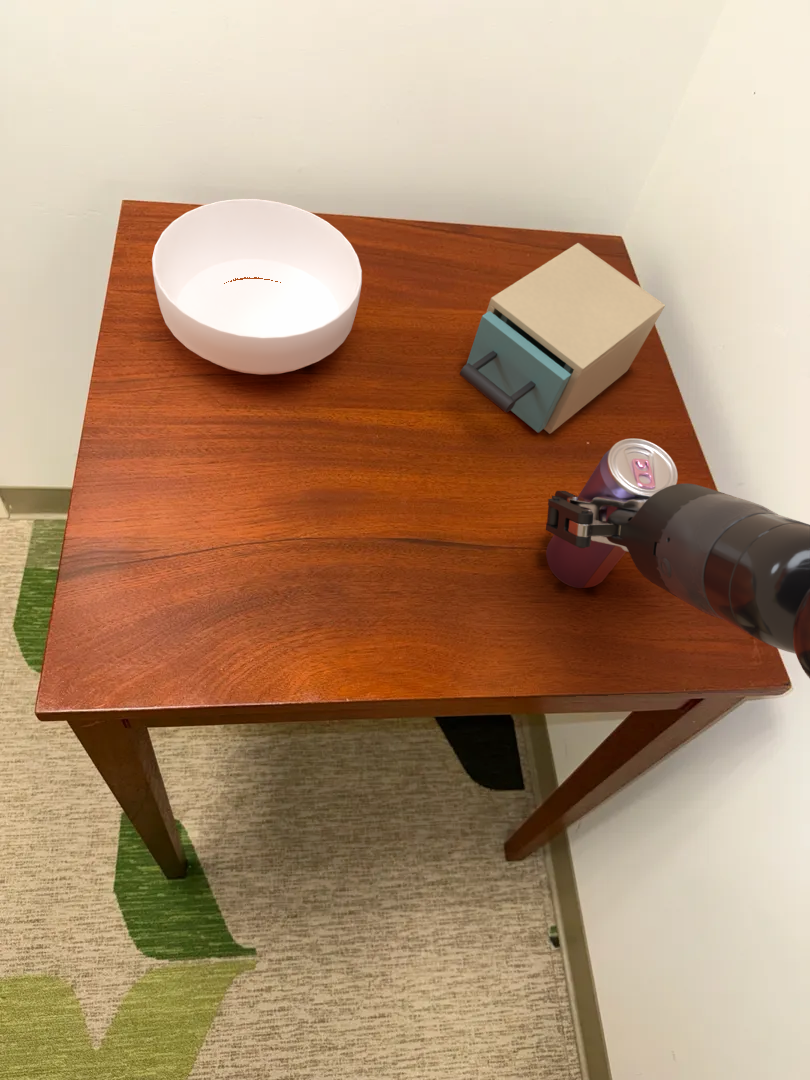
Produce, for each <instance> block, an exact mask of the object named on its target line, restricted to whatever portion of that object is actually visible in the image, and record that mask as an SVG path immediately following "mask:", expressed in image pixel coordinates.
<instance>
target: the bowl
mask: <svg viewBox="0 0 810 1080" xmlns="http://www.w3.org/2000/svg"><path fill="white" fill-rule="evenodd" d="M153 249H154V250H153V254H152V258H151V264H152V265H151V266H152V276H153V281H154V287H155V293H156V298H157V302H158V305H159V309H160V312H161V315H162V317H163V320H164V323H165V325H166V326H167V328H168V329H169V331H170V332H171V333H172V335H173V336H174V337H175V339H177V340H178V341H179V342H180V343H181V344H182V345H183V346H185V348H186V349H188V350H189V351H191V352H193V353H194V354H196V355H197V356H199V357H201V358H203V359H205V360H207V361H209V362H211V363H213V364H214V365H217V366H220V367H222V368H225V369H227V370H231V371H235V372H239V373H244V374H252V375H280V374H284V373H290V372H294V371H296V370H299V369H303V368H305V367H308V366H310V365H313V364H315V363H317V362H320V361H322V360H323V359H325V358H326V357H328V356H330V355H331V354H333V353H334V352H335V351H336V350H337V349H338V348H339V347H340V346H341V345H342V344H343V343H344V342H345V341H346V340H347V338H348V335H350V333H351V331H352V328H353V325H354V321H355V317H356V315H357V311H358V306H359V304H360V303H359V302H360V297H361V291H362V285H363V284H362V283H363V269H362V267H361V262H360V259H359V256H358V254H357V252H356V251H355V249H354V247H353V245H352V244H351V242H350V241H349V240H348V239H347V238H346V237H345V235H344V234H343V233H342V232H341V231H340V230H338V229H337V228H336V227H334V226H333V225H332V224H331V223H329V221H326V219H323V218H322V217H319V216H318V215H317V214H314V213H312V212H310V211H308V210H306V209H303V208H300V207H297V206H295V205H291V204H288V203H283V202H280V201H275V200H266V199H259V198H235V199H227V200H219V201H215V202H212V203H207V204H203V205H201V206H198V207H196V208H194V209H191V210H189V211H187V212H185V213H184V214H182V215H180V216H179V217H178V218H176V219H175V220H173V221H172V222H171V223H170V224H168V226H167V227H166V228H165V229H164V230H163V231H162V233H161V234H160V236H159V238H158V239H157V242H156V244H155V245H154V248H153ZM244 277H246V278H247V277H248V278H249V277H250V278H254V277H257V278H258V277H259V278H263V279H243V280H236V281H233V279H234V280H235V278H236V279H237V278H238V279H240V278H244ZM264 279H270V280H264ZM231 280H232V282H230V281H231ZM271 280H273V281H271ZM228 281H229V282H228ZM275 281H278V282H275ZM226 282H227V283H226ZM280 282H281V283H280ZM224 283H225V284H224Z"/></svg>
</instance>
